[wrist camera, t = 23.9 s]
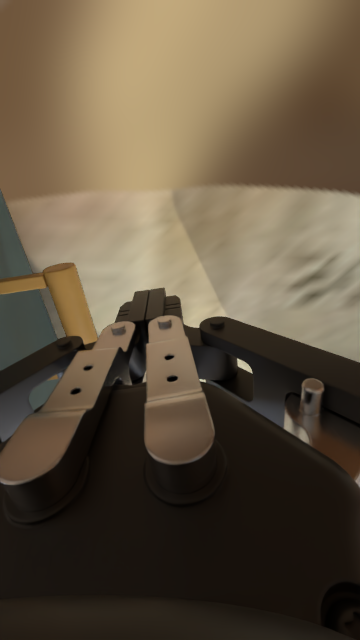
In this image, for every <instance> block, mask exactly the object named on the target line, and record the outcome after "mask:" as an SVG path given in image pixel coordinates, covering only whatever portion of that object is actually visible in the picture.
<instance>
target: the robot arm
mask: <svg viewBox="0 0 360 640" xmlns="http://www.w3.org/2000/svg"><path fill="white" fill-rule="evenodd" d="M237 358H238V359H240V360H243V361H245V362H246V363H247V364H248V365H249V366H250V367H251V369H252V372H253V374H252V373H250V372H248V371H246V370H244V369H242V368H240V367H238V365H237ZM56 374H57V377H58V379H59V381H58V383H57V384H56V386H55V387H54V389H53V391H52V392H51V394H50V395H49V397H48V398H47V400H46V401H45V403H44V404H42V405H41V406H40V407H38V408H37V409H35V410H33V408H32V406H31V404H30V402H29V395H30V393H31V392H32V390H33V389H34V388H36V387H37V386H39V385H41V384H42V383H44V382H45V381H47V380H48V379H50V378H51V377H53V376H55V375H56ZM199 379H206V383H205V382H200V380H199ZM0 640H360V363H359V362H356V361H353V360H350V359H347V358H344V357H341V356H338V355H336V354H333V353H330V352H327V351H324V350H321V349H318V348H315V347H312V346H309V345H306V344H304V343H301V342H298V341H295V340H292V339H289V338H286V337H283V336H280V335H277V334H274V333H272V332H269V331H266V330H263V329H260V328H257V327H254V326H251V325H248V324H245V323H242V322H240V321H237V320H234V319H231V318H228V317H211V318H208V319H205V320H204V321H202V322H201V323H200V328H193V327H188V326H186V325H184V323H183V316H182V309H181V302H180V298H178V297H177V296H176V295H175V296H167V297H166V293H165V288H159V289H151V290H144V291H137V292H135V294H134V297H133V300H132V301H131V302H126V303H125V304H123V305H122V306H121V307H120V310H119V313H118V315H117V318H116V321H115V323H113V324H111V325H109V326H107V327H106V328H104V329H103V331H102V333H101V334H100V336H99V338H98V340H97V341H95V342H92V343H89V344H85V345H84V342H83V339H82V338H81V337H80V336H67V337H63V338H60V339H58V340H56V341H54V342H52V343H50V344H49V345H47V346H45V347H43V348H41V349H39V350H38V351H36V352H34V353H32V354H30V355H29V356H27V357H25V358H23V359H21V360H19V361H18V362H16V363H14V364H12V365H10V366H8V367H7V368H5V369H3V370H1V371H0Z"/></svg>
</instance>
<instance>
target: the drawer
mask: <svg viewBox="0 0 360 640" xmlns="http://www.w3.org/2000/svg"><path fill="white" fill-rule="evenodd" d="M46 287H49V290H50V293H51V296H52V298H53V301H54V304H55V307H56V309H57V312H58V315H59V318H60V320H61V323H62V326H63V329H64V331H65V334H66V337H67V336H80V337H81V338H82V339H83V342H84V345H85V344H89V343H92V342H95V341H97V340H98V337H97V334H96V331H95V328H94V324H93V321H92V318H91V315H90V311H89V308H88V305H87V302H86V298H85V295H84V292H83V289H82V285H81V282H80V279H79V276H78V272H77V269H76V266H75V264H74V263H61V264H57V265H53V266H50V267H48V268H46V269H44V270H43V273H36V274H33V273H32V271H31V268H30V265H29V263H28V260H27V257H26V255H25V252H24V250H23V247H22V244H21V242H20V239H19V236H18V234H17V231H16V229H15V226H14V223H13V221H12V218H11V215H10V213H9V210H8V207H7V205H6V202H5V200H4V197H3V194H2V192H1V190H0V371H1V370H3V369H5V368H7V367H8V366H10V365H12V364H14V363H16V362H18V361H19V360H21V359H23V358H25V357H27V356H29V355H30V354H32V353H34V352H36V351H38V350H39V349H41V348H43V347H45V346H47V345H49V344H50V343H52V342H54V341H56V340H58V339H57V336H56V334H55V331H54V328H53V326H52V323H51V321H50V318H49V315H48V313H47V310H46V307H45V305H44V302H43V299H42V297H41V294H40V292H39V289H41V288H46ZM58 381H59V379H58V377H57V374H56V375H55V376H53V377H51V378H50V379H48V380H47V381H45V382H44V383H42V384H41V385H39V386H37V387H36V388H34V389H33V390H32V392H31V393H30V395H29V402H30V404H31V406H32V408H33V410H35V409H37V408H38V407H40V406H41V405H42V404H44V403H45V401H46V400H47V398H48V397H49V395H50V394H51V392H52V391H53V389H54V387H55V386H56V384H57V383H58Z"/></svg>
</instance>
